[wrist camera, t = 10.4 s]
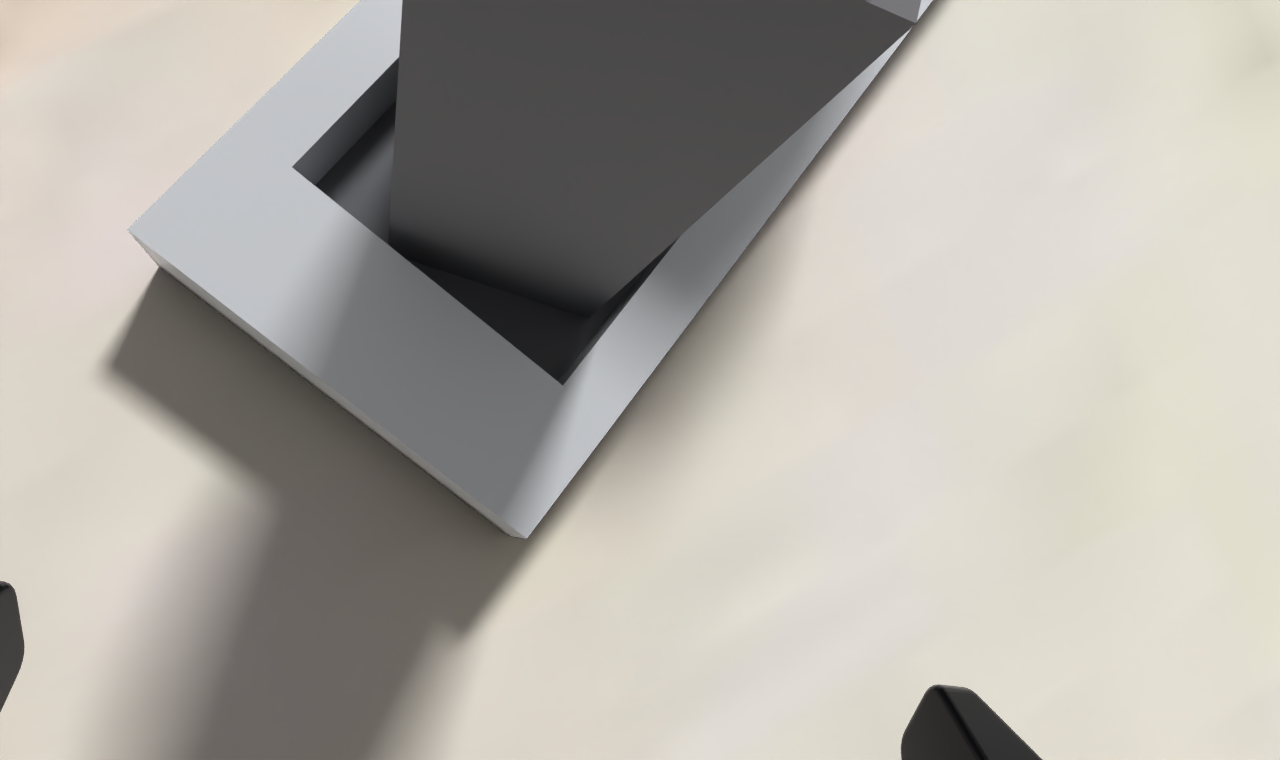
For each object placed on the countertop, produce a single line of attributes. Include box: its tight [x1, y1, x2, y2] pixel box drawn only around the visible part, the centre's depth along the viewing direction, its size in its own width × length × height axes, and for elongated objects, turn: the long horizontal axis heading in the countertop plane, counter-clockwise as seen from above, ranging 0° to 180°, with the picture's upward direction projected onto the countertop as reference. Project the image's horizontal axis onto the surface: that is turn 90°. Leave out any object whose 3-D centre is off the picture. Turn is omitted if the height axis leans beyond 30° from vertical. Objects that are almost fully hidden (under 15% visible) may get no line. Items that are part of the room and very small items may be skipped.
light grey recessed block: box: [128, 0, 933, 539], centre depth 21 cm, size 22×9×2 cm, turn 143°
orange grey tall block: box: [388, 0, 921, 318], centre depth 14 cm, size 4×4×14 cm
